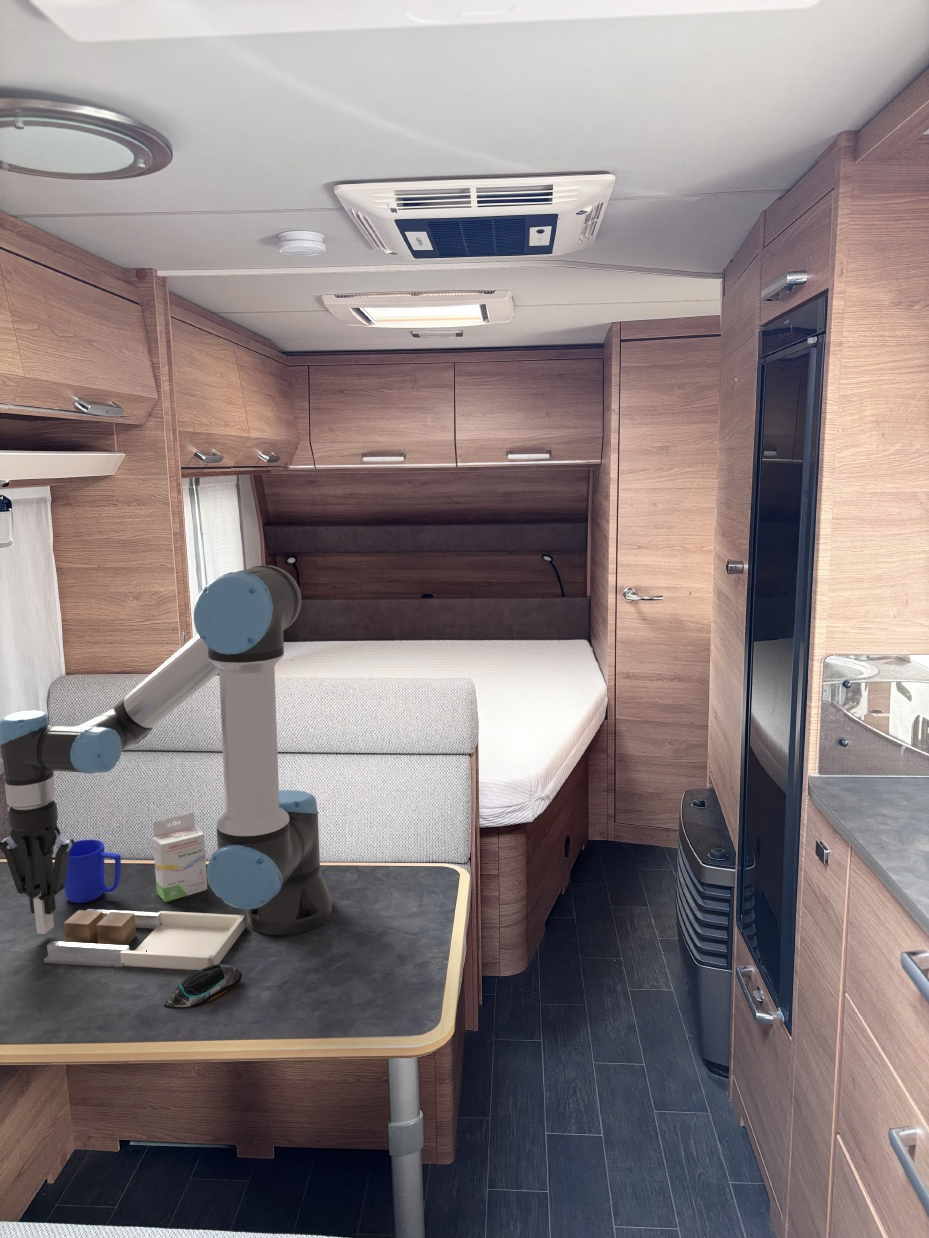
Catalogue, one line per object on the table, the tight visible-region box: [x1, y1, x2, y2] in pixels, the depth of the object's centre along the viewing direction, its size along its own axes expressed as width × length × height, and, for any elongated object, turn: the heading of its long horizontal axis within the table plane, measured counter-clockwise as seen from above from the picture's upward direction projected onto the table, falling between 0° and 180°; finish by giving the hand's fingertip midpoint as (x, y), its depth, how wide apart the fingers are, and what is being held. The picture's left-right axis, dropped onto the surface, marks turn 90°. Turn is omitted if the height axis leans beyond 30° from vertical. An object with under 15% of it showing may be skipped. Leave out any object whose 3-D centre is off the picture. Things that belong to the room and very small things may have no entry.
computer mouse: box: [163, 963, 243, 1010], centre depth 138 cm, size 6×12×4 cm, turn 123°
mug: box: [63, 839, 122, 904], centre depth 169 cm, size 8×12×10 cm
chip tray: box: [120, 910, 247, 971], centre depth 152 cm, size 16×14×2 cm
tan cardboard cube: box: [97, 912, 137, 946], centre depth 153 cm, size 4×4×4 cm
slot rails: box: [43, 908, 162, 968], centre depth 154 cm, size 14×15×2 cm
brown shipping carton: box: [63, 909, 103, 944], centre depth 154 cm, size 4×4×4 cm
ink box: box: [152, 812, 208, 903], centre depth 171 cm, size 9×5×15 cm, turn 127°
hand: (45, 929), depth 155 cm, fingers closed
